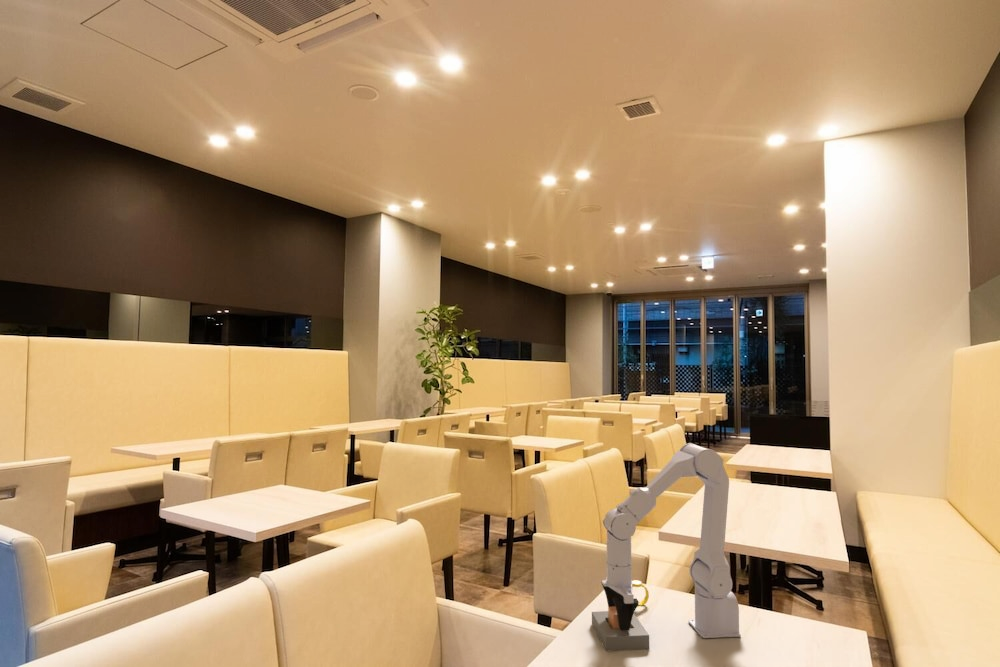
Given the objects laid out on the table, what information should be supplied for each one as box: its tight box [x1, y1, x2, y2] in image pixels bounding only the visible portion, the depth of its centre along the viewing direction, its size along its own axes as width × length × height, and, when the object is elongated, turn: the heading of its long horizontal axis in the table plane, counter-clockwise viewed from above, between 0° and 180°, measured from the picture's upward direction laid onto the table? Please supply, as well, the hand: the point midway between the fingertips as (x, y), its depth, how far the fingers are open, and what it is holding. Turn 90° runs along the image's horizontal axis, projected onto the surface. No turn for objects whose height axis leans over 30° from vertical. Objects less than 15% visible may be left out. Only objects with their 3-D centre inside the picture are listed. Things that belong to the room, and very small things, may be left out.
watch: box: [632, 579, 650, 607], centre depth 144 cm, size 6×3×6 cm, turn 94°
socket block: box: [591, 610, 650, 652], centre depth 127 cm, size 10×12×3 cm
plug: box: [607, 606, 620, 629], centre depth 127 cm, size 4×4×6 cm
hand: (619, 621), depth 127 cm, fingers open, 7 cm apart
